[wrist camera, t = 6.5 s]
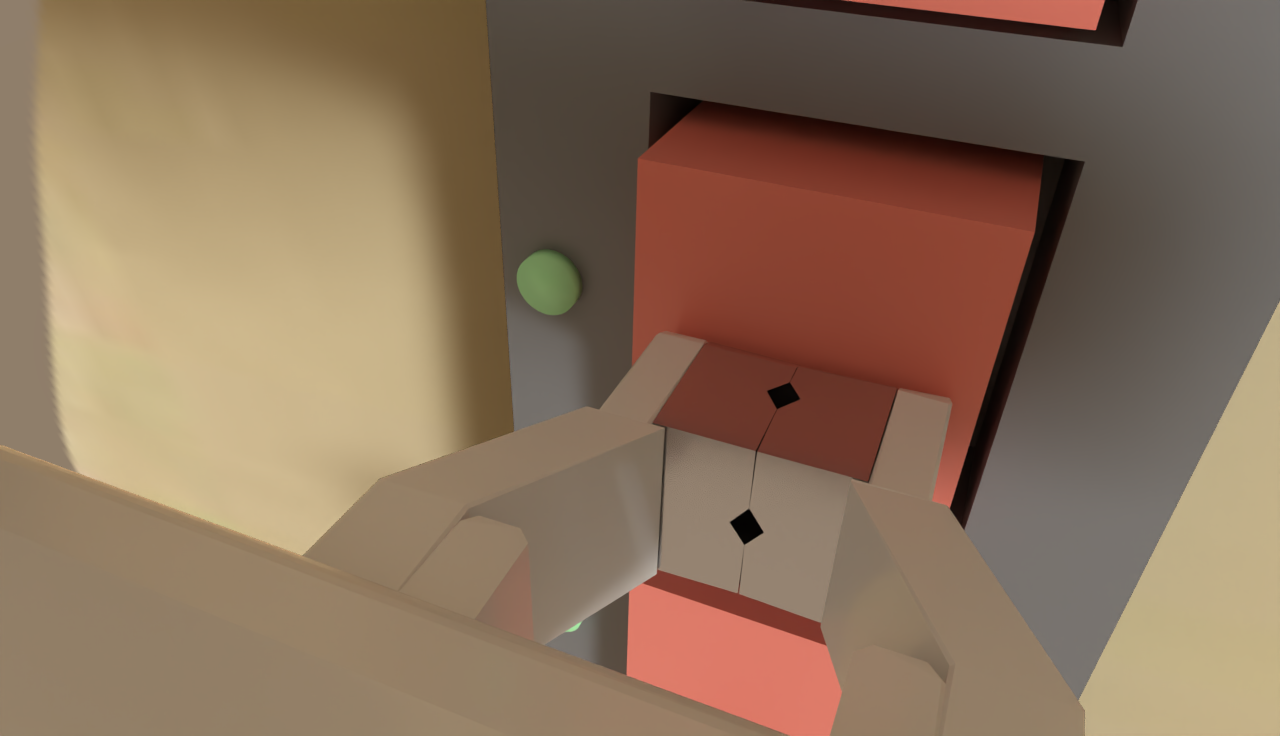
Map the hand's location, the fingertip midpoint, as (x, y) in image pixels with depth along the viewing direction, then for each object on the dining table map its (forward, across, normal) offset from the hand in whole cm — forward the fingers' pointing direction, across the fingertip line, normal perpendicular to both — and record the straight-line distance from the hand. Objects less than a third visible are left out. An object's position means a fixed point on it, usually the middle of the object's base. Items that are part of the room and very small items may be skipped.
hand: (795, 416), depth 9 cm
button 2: (+3, 0, 0) cm, 3 cm away
